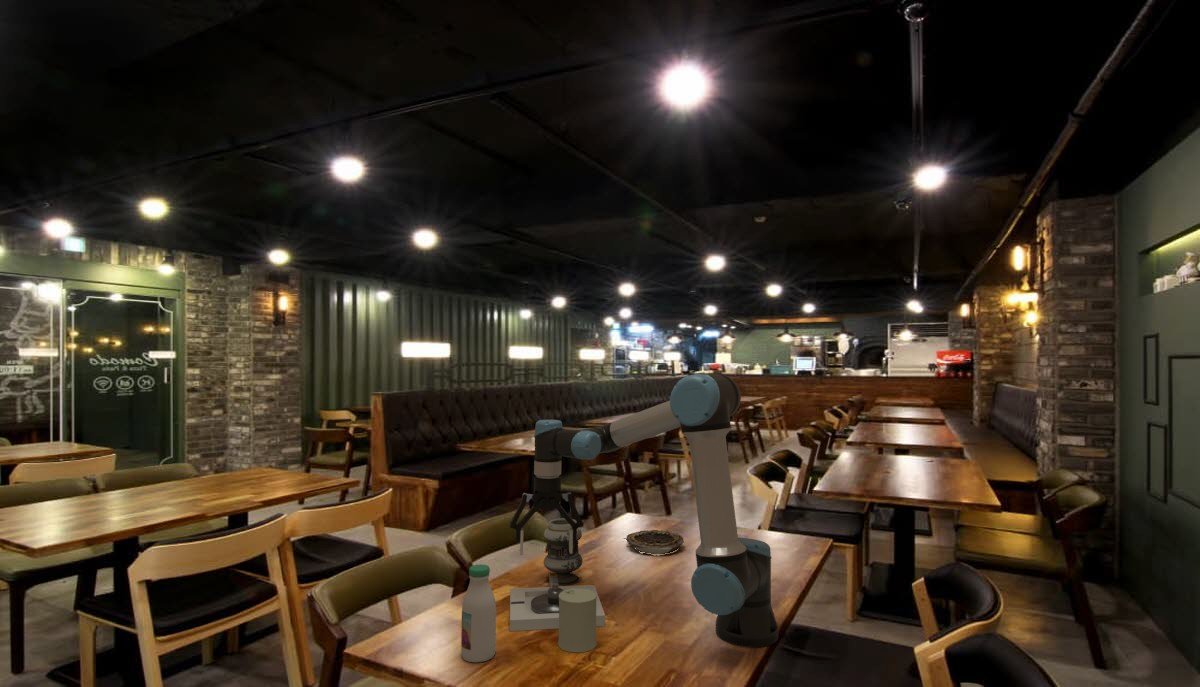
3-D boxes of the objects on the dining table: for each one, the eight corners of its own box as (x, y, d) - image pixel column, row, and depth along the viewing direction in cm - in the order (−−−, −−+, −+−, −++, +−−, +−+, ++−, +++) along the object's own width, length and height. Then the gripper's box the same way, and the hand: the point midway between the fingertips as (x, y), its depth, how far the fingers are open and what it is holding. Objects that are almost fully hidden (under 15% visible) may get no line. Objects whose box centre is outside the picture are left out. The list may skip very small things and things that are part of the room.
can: (575, 632, 155) (576, 583, 156) (604, 642, 149) (604, 592, 150) (550, 645, 148) (550, 593, 149) (579, 656, 142) (579, 603, 143)
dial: (581, 614, 163) (581, 592, 163) (531, 617, 161) (531, 595, 161) (575, 591, 179) (575, 572, 179) (529, 594, 177) (530, 573, 177)
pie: (705, 546, 230) (705, 532, 230) (673, 567, 207) (673, 552, 207) (638, 535, 245) (638, 522, 245) (601, 553, 222) (601, 539, 222)
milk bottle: (497, 647, 147) (498, 561, 147) (493, 663, 139) (494, 572, 140) (464, 647, 146) (465, 561, 147) (458, 663, 139) (459, 572, 139)
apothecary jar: (558, 571, 201) (558, 514, 201) (590, 577, 195) (590, 519, 195) (535, 582, 190) (535, 522, 191) (568, 589, 184) (568, 528, 185)
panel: (605, 626, 159) (605, 614, 159) (509, 631, 156) (509, 619, 156) (594, 594, 181) (594, 584, 181) (510, 598, 177) (510, 587, 177)
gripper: (590, 472, 179) (589, 547, 179) (502, 473, 176) (500, 549, 175) (593, 477, 172) (592, 555, 171) (501, 478, 168) (500, 558, 168)
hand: (546, 552), depth 173 cm, fingers open, 13 cm apart
